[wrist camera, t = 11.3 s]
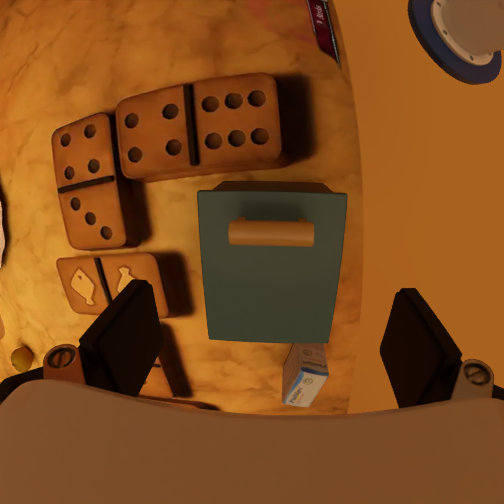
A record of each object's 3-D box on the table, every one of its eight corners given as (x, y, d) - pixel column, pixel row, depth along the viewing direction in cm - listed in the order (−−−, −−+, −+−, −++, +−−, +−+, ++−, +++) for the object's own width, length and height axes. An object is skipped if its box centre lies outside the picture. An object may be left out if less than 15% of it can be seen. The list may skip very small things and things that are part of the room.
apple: (24, 339, 53) (8, 356, 45) (40, 357, 54) (24, 376, 47) (19, 345, 54) (4, 361, 47) (33, 362, 56) (19, 379, 49)
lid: (199, 190, 24) (180, 201, 19) (345, 192, 23) (362, 205, 18) (210, 335, 30) (199, 367, 25) (327, 338, 29) (334, 371, 24)
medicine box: (306, 370, 46) (309, 408, 38) (281, 366, 46) (281, 404, 38) (323, 337, 43) (330, 376, 35) (297, 332, 43) (300, 371, 35)
